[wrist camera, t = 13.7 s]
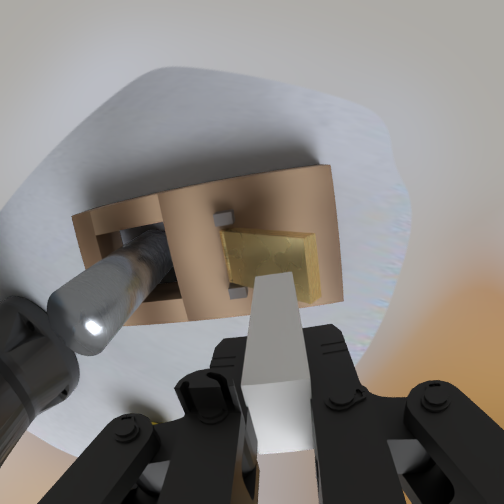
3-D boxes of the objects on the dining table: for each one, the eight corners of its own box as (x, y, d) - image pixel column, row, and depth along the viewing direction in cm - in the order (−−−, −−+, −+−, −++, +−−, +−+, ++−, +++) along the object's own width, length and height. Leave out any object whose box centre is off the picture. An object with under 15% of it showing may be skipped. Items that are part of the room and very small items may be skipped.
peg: (142, 275, 27) (64, 355, 14) (130, 233, 26) (37, 291, 13) (182, 270, 26) (117, 356, 14) (171, 225, 25) (90, 285, 13)
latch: (237, 275, 22) (226, 280, 21) (227, 227, 21) (216, 231, 20) (321, 296, 16) (310, 304, 16) (315, 233, 15) (303, 238, 15)
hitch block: (123, 307, 28) (99, 333, 23) (95, 207, 25) (63, 219, 20) (333, 281, 26) (347, 308, 21) (320, 164, 23) (334, 165, 18)
